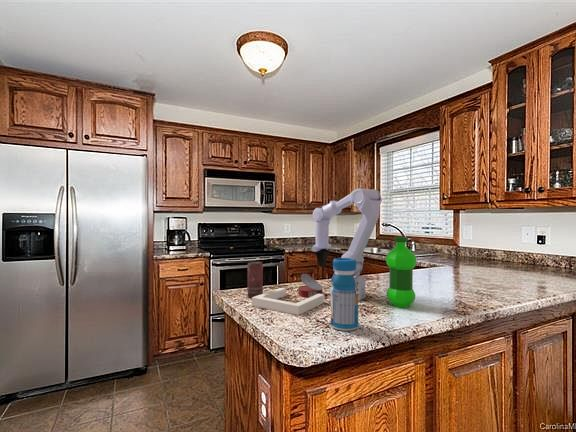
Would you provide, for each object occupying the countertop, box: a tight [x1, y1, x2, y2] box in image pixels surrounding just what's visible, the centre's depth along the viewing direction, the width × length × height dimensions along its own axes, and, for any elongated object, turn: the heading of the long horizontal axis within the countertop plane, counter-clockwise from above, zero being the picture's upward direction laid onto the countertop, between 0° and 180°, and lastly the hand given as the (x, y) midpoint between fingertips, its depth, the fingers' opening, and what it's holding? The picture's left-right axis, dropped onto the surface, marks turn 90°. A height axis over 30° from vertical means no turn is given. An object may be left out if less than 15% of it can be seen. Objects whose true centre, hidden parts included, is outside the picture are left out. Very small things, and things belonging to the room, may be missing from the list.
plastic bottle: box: [385, 236, 417, 309], centre depth 117 cm, size 10×10×25 cm
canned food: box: [298, 273, 323, 299], centre depth 133 cm, size 11×10×10 cm
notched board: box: [251, 287, 325, 316], centre depth 119 cm, size 20×18×3 cm
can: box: [247, 260, 264, 299], centre depth 130 cm, size 6×6×14 cm
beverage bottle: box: [329, 257, 359, 332], centre depth 95 cm, size 8×8×20 cm
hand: (322, 266), depth 141 cm, fingers closed
